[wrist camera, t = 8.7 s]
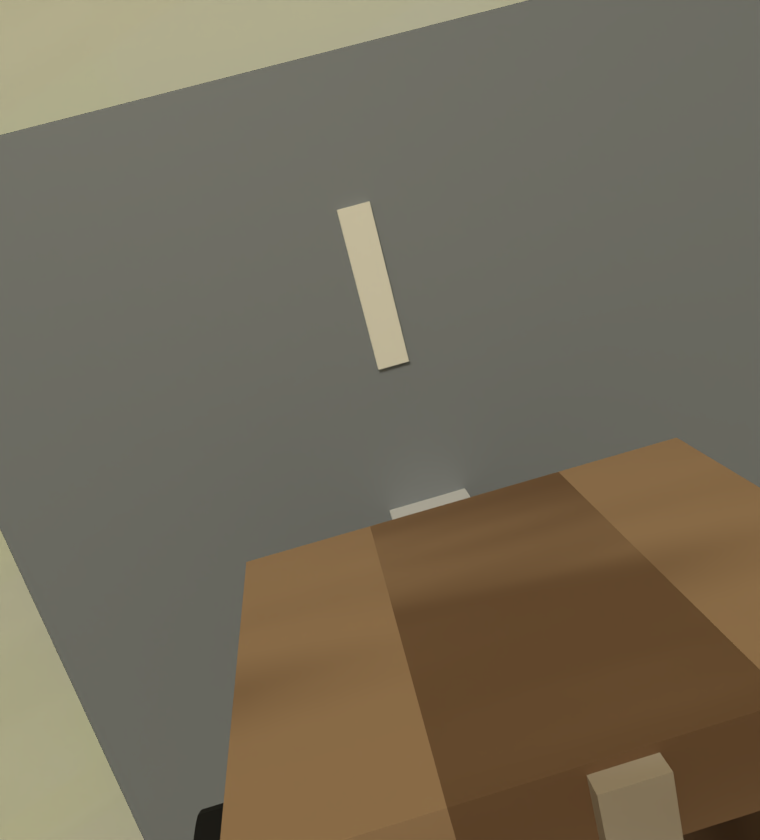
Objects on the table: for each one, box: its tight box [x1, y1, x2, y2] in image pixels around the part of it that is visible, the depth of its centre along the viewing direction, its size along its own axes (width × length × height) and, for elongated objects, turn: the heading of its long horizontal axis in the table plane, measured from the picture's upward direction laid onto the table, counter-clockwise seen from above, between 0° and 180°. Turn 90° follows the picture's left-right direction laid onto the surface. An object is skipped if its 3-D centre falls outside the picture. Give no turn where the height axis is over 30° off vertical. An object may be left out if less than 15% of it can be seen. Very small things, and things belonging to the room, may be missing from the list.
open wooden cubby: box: [220, 438, 760, 840], centre depth 9 cm, size 6×6×5 cm
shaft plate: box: [0, 0, 760, 840], centre depth 13 cm, size 20×16×7 cm
